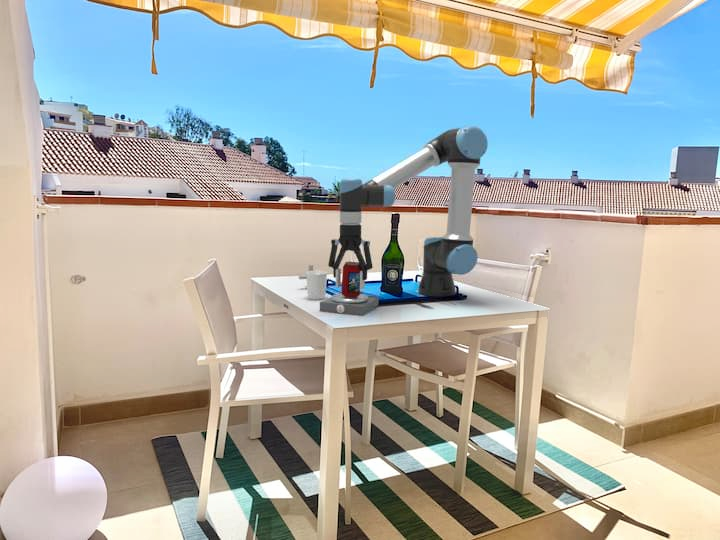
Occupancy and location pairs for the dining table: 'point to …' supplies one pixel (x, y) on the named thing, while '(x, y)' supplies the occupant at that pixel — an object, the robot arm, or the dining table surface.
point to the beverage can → (351, 279)
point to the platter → (349, 299)
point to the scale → (349, 306)
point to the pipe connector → (305, 274)
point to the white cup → (316, 284)
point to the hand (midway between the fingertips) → (350, 287)
